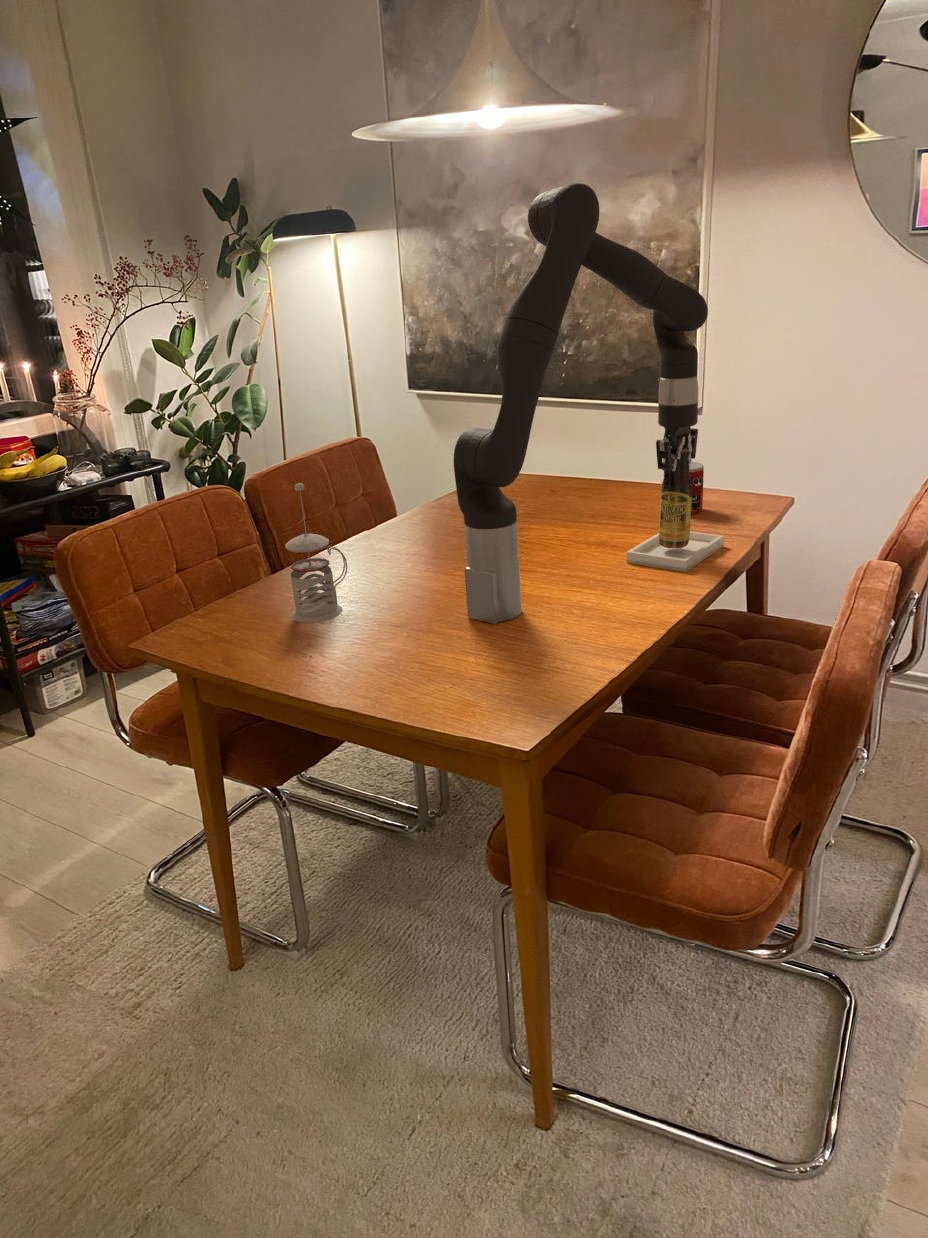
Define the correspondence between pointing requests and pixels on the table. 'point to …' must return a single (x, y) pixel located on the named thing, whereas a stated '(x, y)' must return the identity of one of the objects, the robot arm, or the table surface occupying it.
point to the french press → (316, 603)
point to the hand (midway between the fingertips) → (676, 485)
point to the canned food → (696, 486)
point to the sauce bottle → (676, 507)
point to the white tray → (675, 552)
